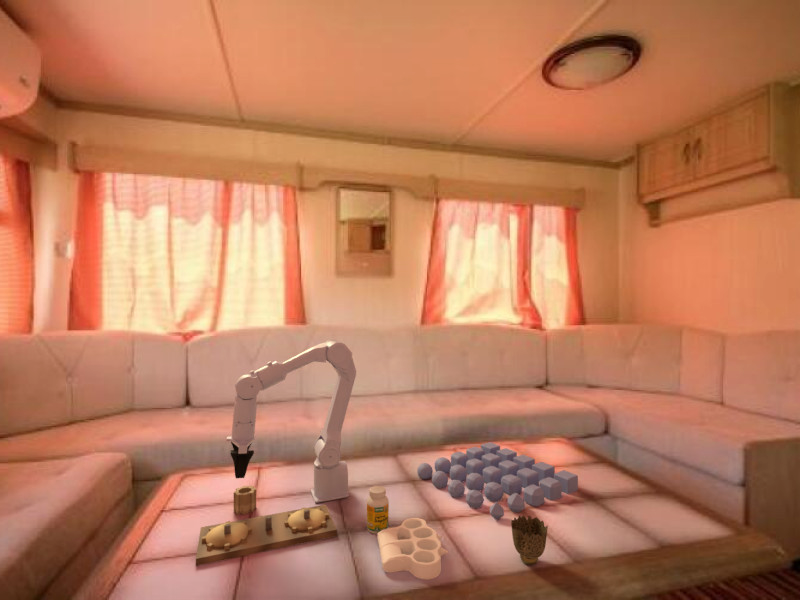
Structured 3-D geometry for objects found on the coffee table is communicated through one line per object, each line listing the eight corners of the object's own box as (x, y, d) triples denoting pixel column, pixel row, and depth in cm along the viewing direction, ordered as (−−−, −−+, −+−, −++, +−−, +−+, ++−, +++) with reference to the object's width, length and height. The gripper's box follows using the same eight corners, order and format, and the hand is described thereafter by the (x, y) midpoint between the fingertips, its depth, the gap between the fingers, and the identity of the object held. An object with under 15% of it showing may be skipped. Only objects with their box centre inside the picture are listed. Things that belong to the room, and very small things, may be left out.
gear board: (325, 510, 109) (325, 495, 109) (336, 535, 97) (336, 518, 97) (200, 533, 98) (200, 516, 98) (195, 566, 86) (195, 546, 86)
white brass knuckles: (375, 534, 98) (435, 529, 100) (384, 586, 80) (456, 578, 83) (375, 520, 98) (435, 515, 100) (384, 568, 80) (456, 561, 83)
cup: (506, 551, 91) (506, 515, 91) (538, 549, 91) (538, 513, 92) (518, 573, 83) (518, 534, 83) (553, 571, 84) (553, 532, 84)
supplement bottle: (381, 520, 104) (381, 482, 104) (392, 530, 99) (392, 490, 99) (362, 526, 101) (362, 487, 101) (373, 537, 96) (373, 496, 96)
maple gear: (255, 502, 113) (255, 484, 113) (256, 512, 108) (256, 493, 108) (233, 506, 111) (233, 487, 111) (233, 516, 106) (233, 496, 106)
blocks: (578, 491, 121) (578, 475, 121) (497, 528, 101) (497, 508, 101) (490, 455, 150) (490, 441, 150) (414, 478, 130) (414, 462, 130)
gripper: (228, 414, 115) (224, 463, 114) (227, 428, 101) (222, 484, 101) (255, 413, 117) (251, 461, 117) (257, 427, 104) (253, 482, 103)
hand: (239, 472), depth 109 cm, fingers open, 7 cm apart
